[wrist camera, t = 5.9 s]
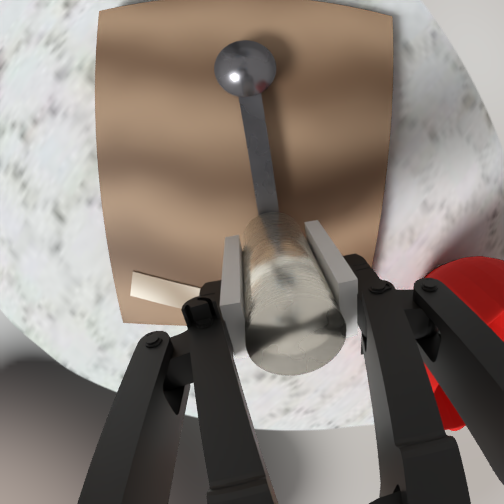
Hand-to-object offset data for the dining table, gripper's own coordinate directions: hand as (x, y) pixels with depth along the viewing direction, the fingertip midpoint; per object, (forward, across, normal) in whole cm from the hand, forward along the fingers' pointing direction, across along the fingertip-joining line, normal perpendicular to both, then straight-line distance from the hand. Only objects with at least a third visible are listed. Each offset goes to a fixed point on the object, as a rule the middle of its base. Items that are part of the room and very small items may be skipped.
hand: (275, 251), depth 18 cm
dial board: (+4, -1, +4) cm, 6 cm away
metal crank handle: (+2, 0, +4) cm, 4 cm away
